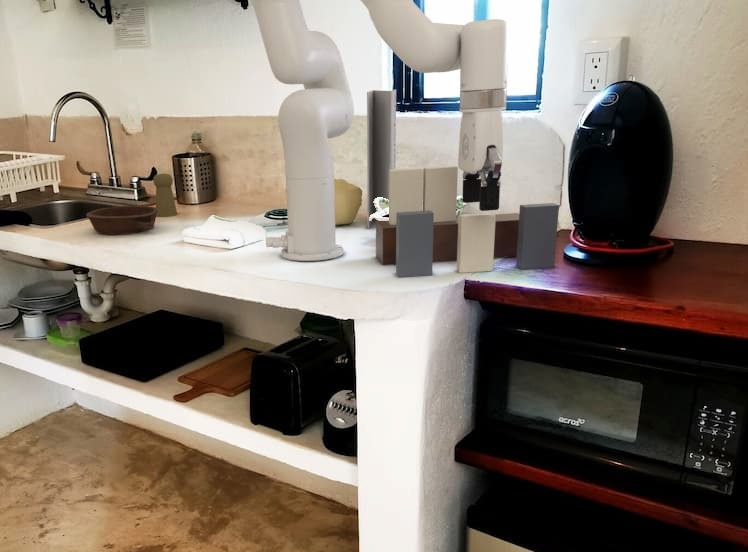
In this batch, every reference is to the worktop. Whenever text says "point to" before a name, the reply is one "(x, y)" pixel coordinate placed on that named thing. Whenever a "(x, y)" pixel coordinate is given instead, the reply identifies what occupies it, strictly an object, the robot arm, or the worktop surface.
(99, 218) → the dish
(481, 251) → the cream book
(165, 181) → the olive pawn piece
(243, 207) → the worktop surface
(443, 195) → the cream book
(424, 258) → the grey book left
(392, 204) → the cream book
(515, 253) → the book shelf
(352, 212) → the sculpture
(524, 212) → the grey rectangular block
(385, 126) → the tall grey panel
